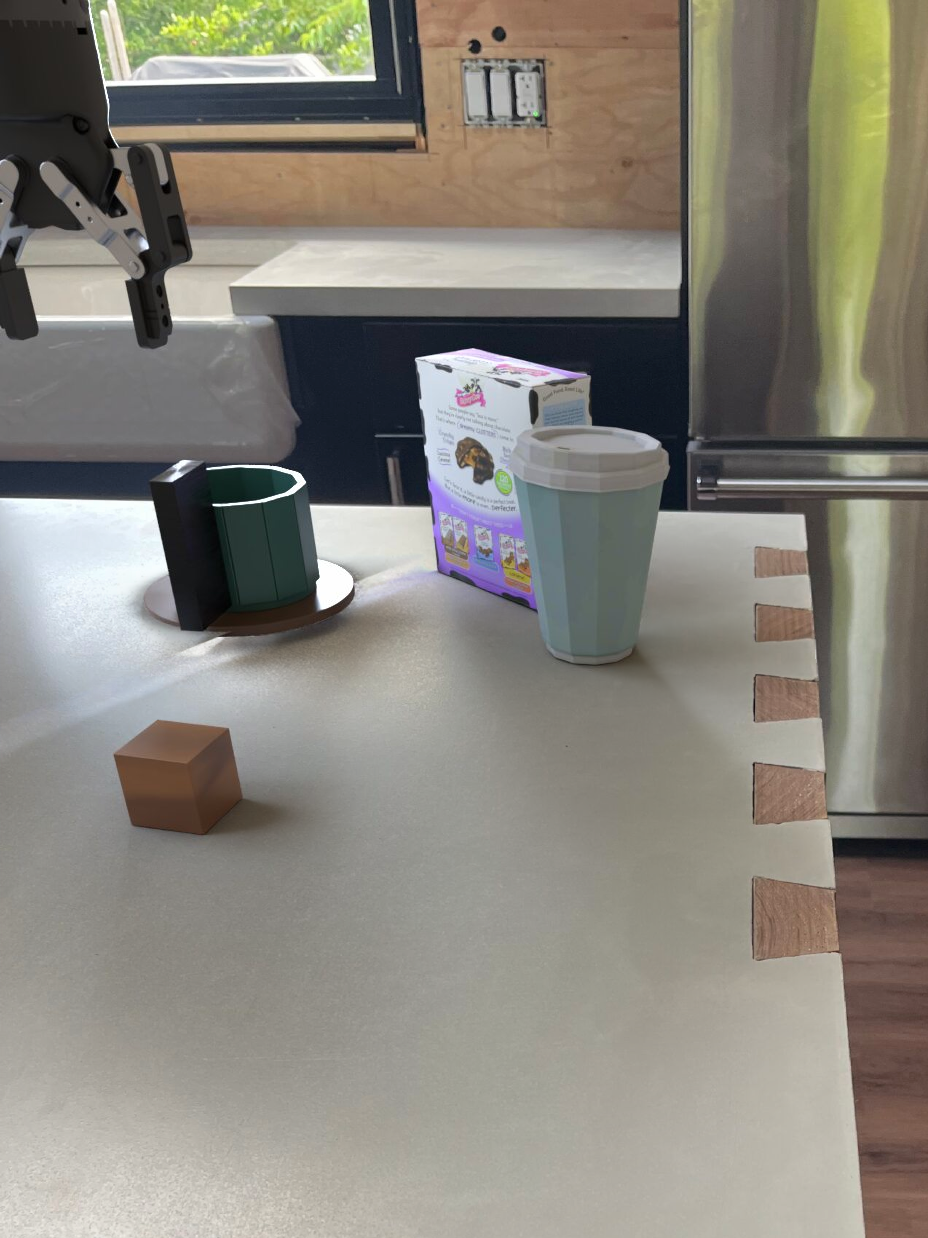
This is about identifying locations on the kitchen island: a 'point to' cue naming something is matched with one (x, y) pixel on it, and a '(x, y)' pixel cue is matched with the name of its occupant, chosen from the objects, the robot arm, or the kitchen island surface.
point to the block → (179, 776)
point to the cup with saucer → (240, 552)
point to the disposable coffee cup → (589, 533)
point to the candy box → (487, 457)
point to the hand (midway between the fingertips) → (89, 342)
